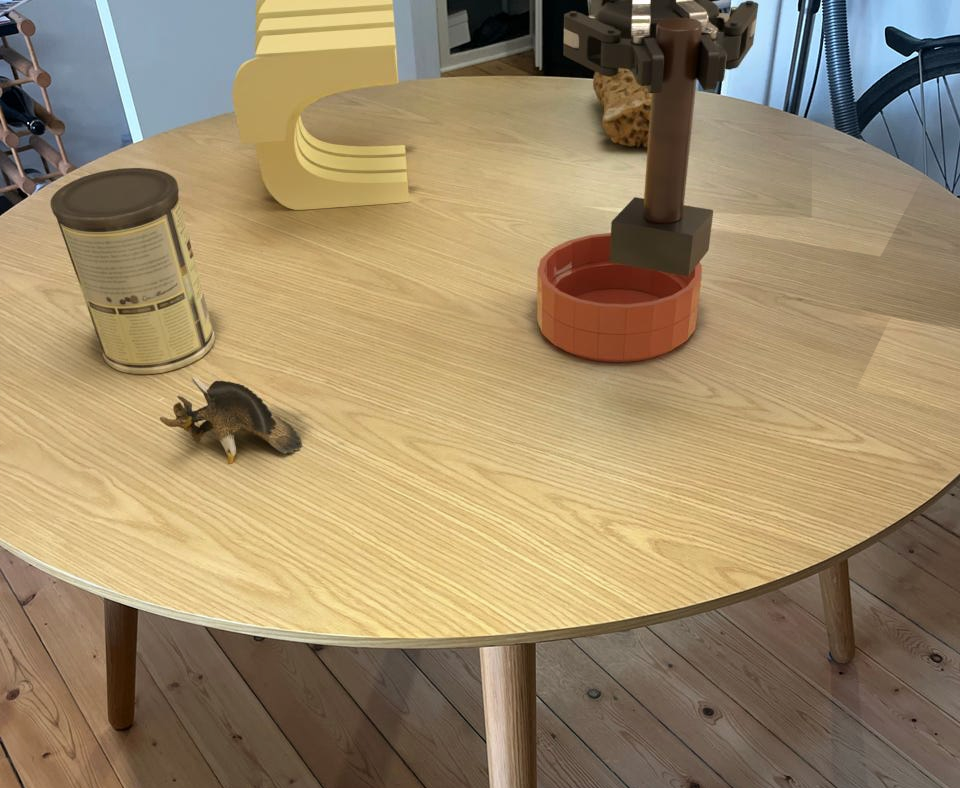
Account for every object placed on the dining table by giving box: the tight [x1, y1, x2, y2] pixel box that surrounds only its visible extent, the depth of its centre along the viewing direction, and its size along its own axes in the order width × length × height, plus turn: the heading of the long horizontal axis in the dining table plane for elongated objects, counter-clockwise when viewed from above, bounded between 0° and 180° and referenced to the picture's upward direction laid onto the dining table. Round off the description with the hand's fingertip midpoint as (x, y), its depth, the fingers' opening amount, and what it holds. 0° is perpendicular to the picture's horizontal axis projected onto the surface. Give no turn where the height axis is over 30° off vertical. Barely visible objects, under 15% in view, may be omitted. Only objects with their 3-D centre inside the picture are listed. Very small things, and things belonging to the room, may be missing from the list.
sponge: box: [592, 68, 652, 148], centre depth 126 cm, size 13×8×20 cm
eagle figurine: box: [159, 376, 303, 464], centre depth 80 cm, size 8×7×9 cm
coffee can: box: [49, 167, 216, 375], centre depth 89 cm, size 10×10×14 cm
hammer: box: [609, 18, 714, 277], centre depth 69 cm, size 6×4×15 cm
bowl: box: [536, 232, 703, 363], centre depth 91 cm, size 14×14×6 cm
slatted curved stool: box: [231, 0, 410, 211], centre depth 113 cm, size 30×16×18 cm, turn 4°
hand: (685, 74), depth 63 cm, fingers closed on hammer, 3 cm apart
